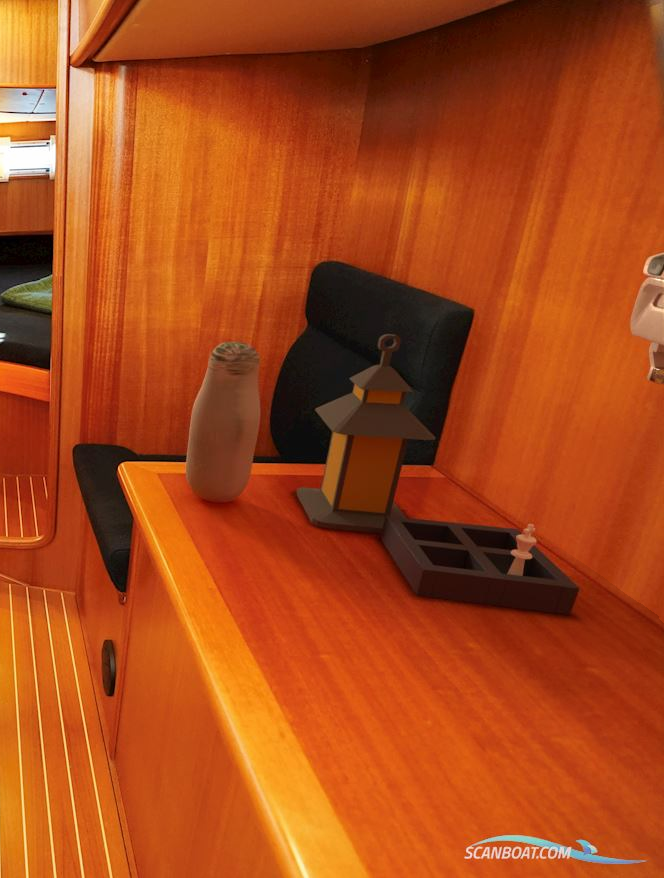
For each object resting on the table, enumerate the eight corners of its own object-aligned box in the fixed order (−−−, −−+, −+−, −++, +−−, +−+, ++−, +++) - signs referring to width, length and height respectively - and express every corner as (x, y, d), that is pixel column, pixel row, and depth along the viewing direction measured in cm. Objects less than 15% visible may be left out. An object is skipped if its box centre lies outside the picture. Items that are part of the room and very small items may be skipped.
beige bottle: (170, 491, 126) (189, 339, 117) (219, 484, 129) (240, 333, 119) (207, 514, 117) (230, 351, 108) (258, 506, 120) (286, 345, 110)
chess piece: (477, 586, 95) (497, 520, 91) (500, 578, 96) (521, 513, 93) (519, 605, 91) (541, 536, 87) (542, 596, 92) (566, 529, 89)
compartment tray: (510, 553, 103) (517, 528, 101) (570, 615, 88) (580, 588, 87) (379, 538, 108) (385, 515, 106) (416, 595, 93) (423, 569, 92)
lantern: (416, 537, 108) (466, 347, 97) (313, 526, 112) (351, 343, 102) (386, 499, 120) (427, 327, 110) (294, 491, 125) (326, 324, 114)
